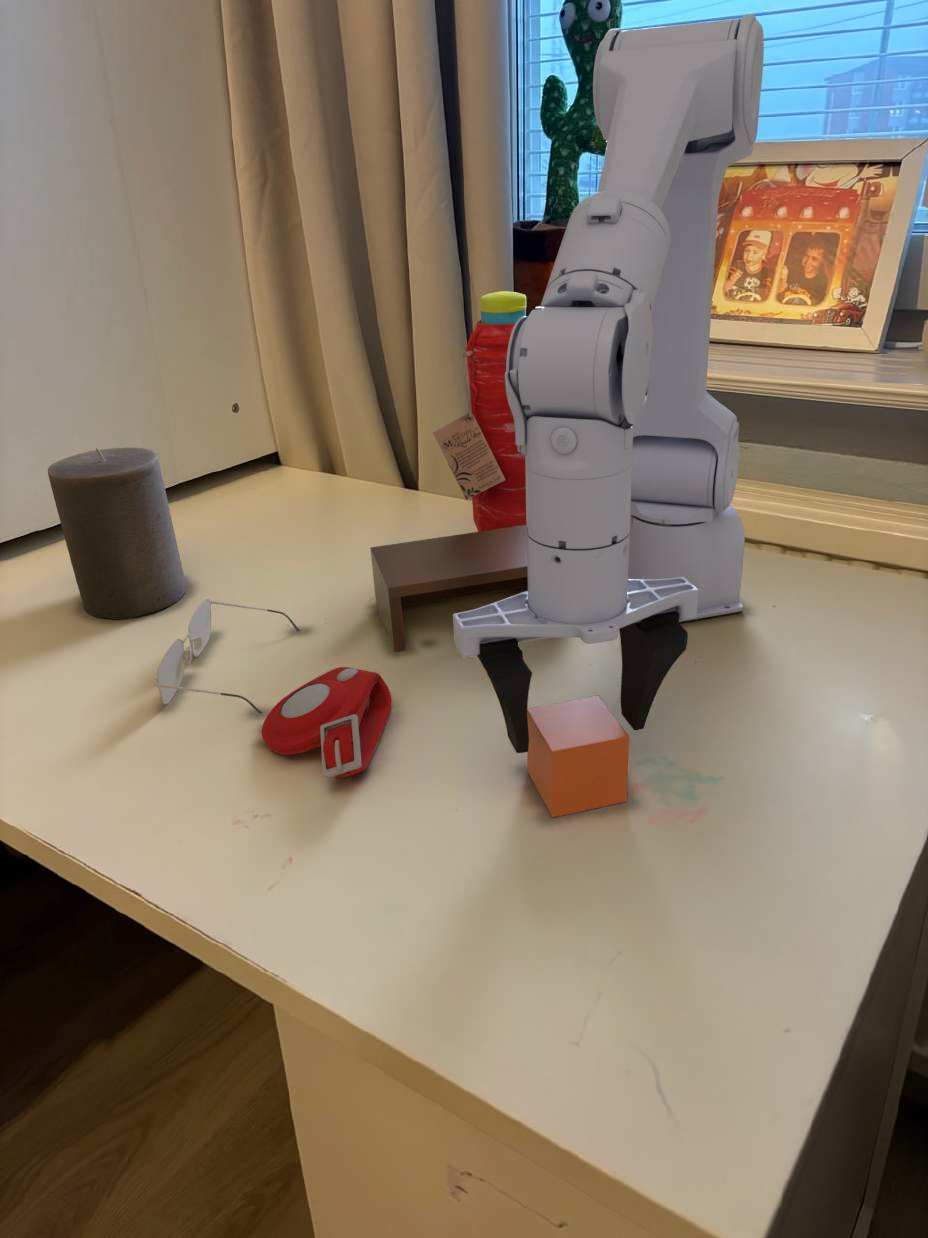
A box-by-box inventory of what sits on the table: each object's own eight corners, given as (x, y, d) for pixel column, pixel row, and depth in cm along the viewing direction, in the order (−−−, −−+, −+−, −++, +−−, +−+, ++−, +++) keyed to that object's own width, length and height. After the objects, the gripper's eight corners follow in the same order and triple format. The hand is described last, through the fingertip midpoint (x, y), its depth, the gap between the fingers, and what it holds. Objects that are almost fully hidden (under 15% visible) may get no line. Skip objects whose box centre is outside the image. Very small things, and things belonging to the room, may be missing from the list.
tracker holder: (228, 727, 65) (324, 644, 70) (258, 773, 67) (349, 688, 72) (328, 758, 56) (429, 660, 61) (359, 809, 58) (454, 710, 63)
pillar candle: (107, 630, 82) (65, 471, 75) (68, 598, 89) (26, 449, 82) (205, 595, 88) (174, 444, 81) (161, 567, 94) (130, 426, 87)
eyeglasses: (213, 630, 81) (208, 590, 79) (302, 635, 81) (299, 595, 79) (157, 717, 69) (150, 672, 67) (261, 724, 68) (257, 678, 66)
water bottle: (474, 570, 90) (461, 306, 78) (431, 546, 96) (413, 298, 84) (567, 539, 96) (568, 290, 84) (521, 518, 101) (516, 283, 90)
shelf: (540, 581, 87) (540, 522, 84) (574, 621, 79) (574, 558, 76) (376, 607, 84) (370, 547, 81) (394, 652, 76) (388, 587, 73)
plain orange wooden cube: (597, 757, 61) (598, 694, 59) (627, 802, 57) (630, 736, 55) (527, 771, 60) (525, 708, 58) (552, 818, 56) (551, 752, 54)
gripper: (471, 578, 46) (481, 793, 52) (731, 537, 49) (712, 746, 55) (439, 529, 52) (452, 727, 58) (672, 496, 55) (661, 688, 61)
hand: (576, 732), depth 57 cm, fingers open, 7 cm apart
